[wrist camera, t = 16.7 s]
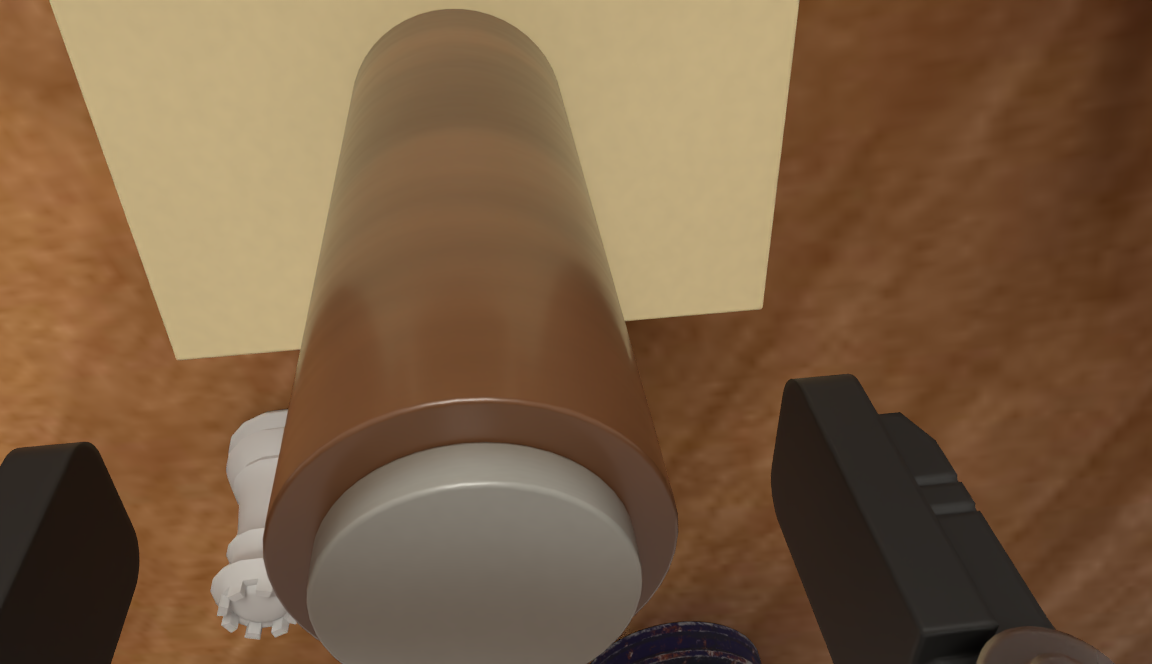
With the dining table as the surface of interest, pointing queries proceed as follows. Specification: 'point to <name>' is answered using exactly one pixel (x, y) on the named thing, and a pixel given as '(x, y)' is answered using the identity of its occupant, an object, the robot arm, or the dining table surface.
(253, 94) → the cabinet
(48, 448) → the robot arm
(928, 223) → the dining table surface
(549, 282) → the pepper mill
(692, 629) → the storage jar
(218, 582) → the rook chess piece
